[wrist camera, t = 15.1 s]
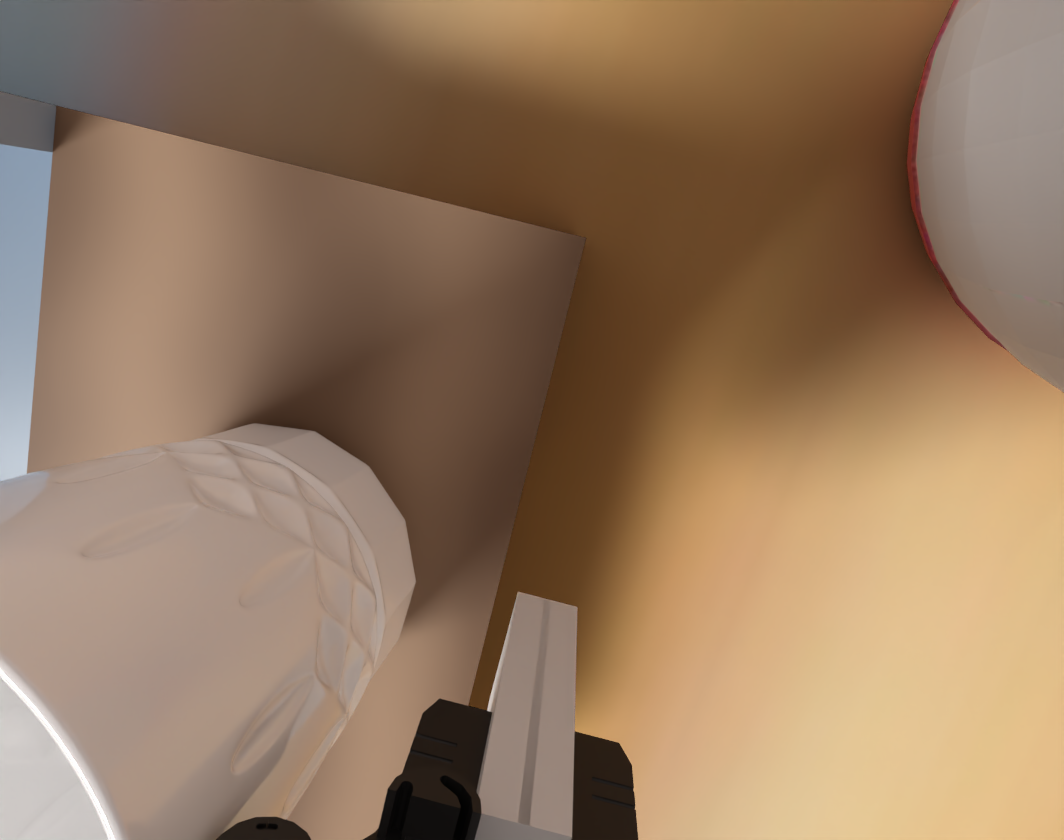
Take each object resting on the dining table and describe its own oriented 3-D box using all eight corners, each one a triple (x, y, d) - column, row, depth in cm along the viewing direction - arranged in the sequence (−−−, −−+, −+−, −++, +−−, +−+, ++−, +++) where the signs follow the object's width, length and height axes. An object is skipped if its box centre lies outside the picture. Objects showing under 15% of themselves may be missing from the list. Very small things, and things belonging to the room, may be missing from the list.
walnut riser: (105, 679, 26) (1, 783, 21) (168, 134, 21) (56, 105, 17) (448, 756, 26) (425, 876, 21) (578, 236, 22) (586, 237, 17)
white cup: (174, 352, 18) (-419, 448, 8) (481, 465, 17) (209, 721, 7) (121, 635, 20) (-411, 978, 10) (393, 752, 19) (87, 1251, 9)
